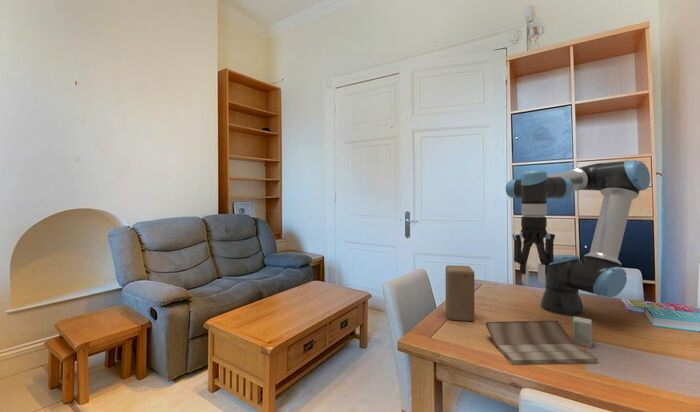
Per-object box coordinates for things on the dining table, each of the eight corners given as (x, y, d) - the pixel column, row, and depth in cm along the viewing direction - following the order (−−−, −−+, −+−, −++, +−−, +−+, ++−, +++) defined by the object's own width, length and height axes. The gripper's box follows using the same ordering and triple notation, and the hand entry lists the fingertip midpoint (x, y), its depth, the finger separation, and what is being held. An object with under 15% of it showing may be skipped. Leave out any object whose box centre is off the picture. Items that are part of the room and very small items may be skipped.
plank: (556, 323, 108) (557, 320, 108) (573, 346, 101) (574, 343, 100) (485, 324, 108) (486, 321, 107) (496, 347, 100) (497, 344, 100)
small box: (591, 342, 103) (592, 319, 102) (591, 348, 99) (592, 323, 99) (572, 338, 106) (573, 315, 106) (572, 343, 102) (572, 319, 102)
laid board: (575, 347, 100) (575, 343, 100) (597, 362, 91) (597, 358, 91) (497, 349, 99) (497, 345, 99) (512, 364, 90) (512, 360, 90)
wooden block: (474, 322, 120) (474, 271, 120) (448, 320, 122) (447, 270, 122) (470, 312, 130) (470, 265, 130) (445, 311, 132) (445, 264, 132)
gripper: (552, 214, 110) (551, 279, 111) (502, 215, 110) (502, 280, 111) (567, 216, 103) (566, 285, 104) (513, 217, 103) (513, 286, 104)
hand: (533, 282), depth 107 cm, fingers open, 5 cm apart
